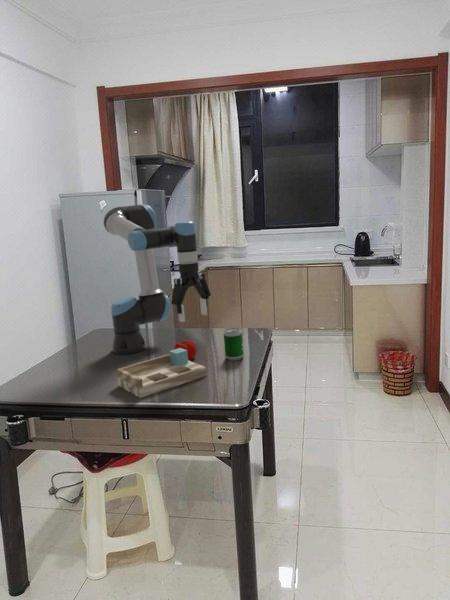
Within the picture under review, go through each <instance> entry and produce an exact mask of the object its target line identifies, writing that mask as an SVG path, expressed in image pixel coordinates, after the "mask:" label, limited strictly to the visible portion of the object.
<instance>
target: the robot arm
mask: <svg viewBox="0 0 450 600" xmlns="http://www.w3.org/2000/svg"><path fill="white" fill-rule="evenodd" d="M157 225H158V220H157V216H156V213H155V211H154V209H153V208H152V207H151V206H150V205H149V204H137V205H126V206H116V207H114V208H112V209H110V210H109V211H108V212H106V214H105V215H104V218H103V226H104V229H105V230H106V231H107V232H108V233H109V234H111V235H114V236H119V237H121V238H122V239H124V240H125V241H127V243H128V246H129V248H130V250H131V251H133V252H134V256H135V263H136V268H137V274H138V276H137V277H138V280H139V286H140V292H139V294H138V299H137V297H133V296H129V297H124V298H121V299H118V300H116V301H114V302H112V304H111V306H110V307H111V312H110V314H111V319H112V326H113V332H114V336H113V340H112V345H111V347H112V348H111V349H112V353H113V354H116V355H132V354H136V353H139V352H143V351H144V350H145V349H146V348H147V345H146V344H147V343H146V341H145V337H144V336H143V334H142V332H141V328H140V325H141V326H142V325H146V324H150V323H156V322H160V321H164V320H166V319H167V318H168V317H169V315H170V313H171V305H174V306H176V313H177V314H178V321H179V322H181V323H185V322H186V317H185V306H184V305H183V303H184V299H185V296H186V293H187V291H188V289H190V288H191V287H194V288H195V290H196V292H197V293H198V295H199V296H200V298H199V303H200V315H202V316H208V309H207V307H208V299H210V296H211V295H212V294H211V291H210V288H209V286H208V283H207V280H206V276H205V275H206V274H205V273H204V272H199V270H200V269H199V263H198V260H199V259H198V258H199V257H198V249H197V248H198V247H197V237H196V235H197V234H196V233H197V232H196V227H195V223H194V222H193V220H191V221H189V220H188V221H177V222H175V224H174V225H171V226H166V227H160V228H157ZM169 247H176V252H177V261H178V263H179V264H178V272H179V275H180V276H179V278H174V279H173V283H174V284H173V292H172V297H171V301H170V299H169V297H168V295H167V294H165V293H164V290H162V289H161V287H160V284H159V278H158V272H157V270H158V269H157V264H156V259H155V253H154V251H155V250H154V249H161V248H162V249H163V248H169Z"/></svg>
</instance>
